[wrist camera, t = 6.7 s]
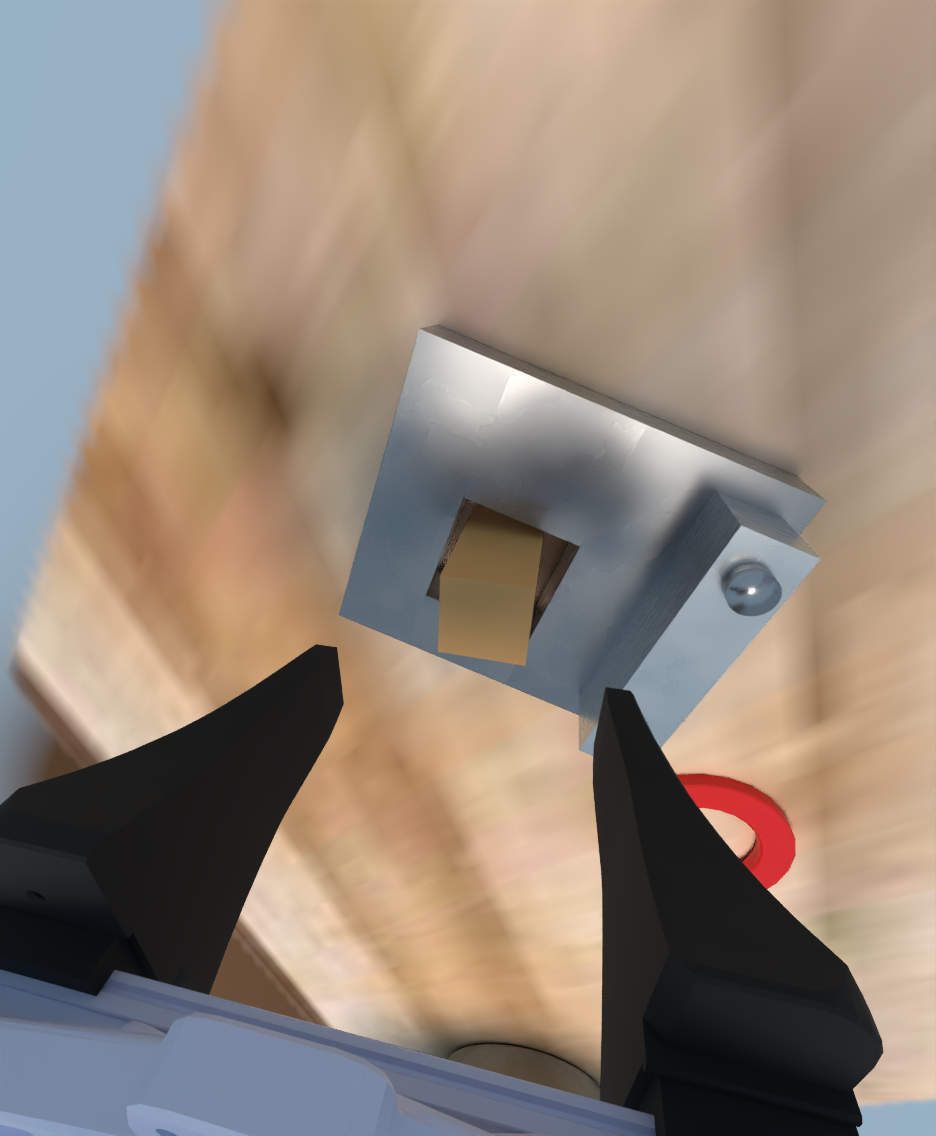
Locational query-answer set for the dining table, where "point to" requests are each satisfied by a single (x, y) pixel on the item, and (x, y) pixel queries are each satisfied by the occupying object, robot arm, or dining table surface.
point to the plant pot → (528, 1067)
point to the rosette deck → (580, 532)
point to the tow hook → (749, 822)
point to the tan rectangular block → (490, 588)
